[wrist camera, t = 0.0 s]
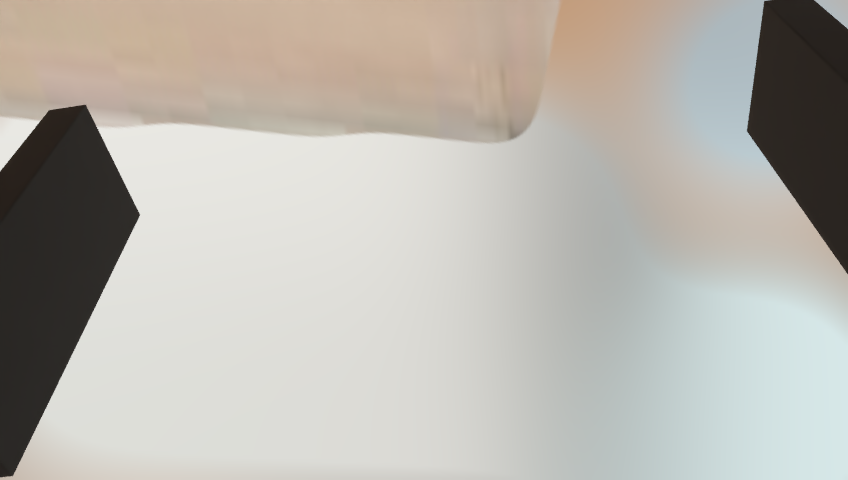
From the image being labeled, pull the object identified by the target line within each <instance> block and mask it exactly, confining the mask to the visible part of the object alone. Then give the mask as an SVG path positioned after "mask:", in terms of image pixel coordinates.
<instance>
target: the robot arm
mask: <svg viewBox="0 0 848 480" xmlns="http://www.w3.org/2000/svg"><path fill="white" fill-rule="evenodd" d="M747 132H748V133H749V135H750V136H751V137H752V139H753V140H754V142H755V143H756V144H757V146H758V147H759V149H760V150H761V152H762V153H763V154H764V156H765V157H766V158H767V160H768V162H769V163H770V164H771V166H772V167H773V169H774V170H775V171H776V173H777V174H778V176H779V177H780V179H781V180H782V181H783V183H784V184H785V186H786V187H787V188H788V190H789V191H790V193H791V194H792V196H793V197H794V198H795V199H796V201H797V203H798V204H799V206H800V207H801V208H802V210H803V211H804V212H805V214H806V215H807V217H808V218H809V220H810V221H811V222H812V224H813V225H814V227H815V228H816V230H817V231H818V232H819V234H820V235H821V237H822V238H823V240H824V241H825V242H826V244H827V245H828V247H829V248H830V250H831V251H832V252H833V254H834V255H835V257H836V258H837V259H838V261H839V262H840V264H841V265H842V266H843V268H844V269H845V271H846V272H847V274H848V29H847V28H846V27H845V26H844V25H842V24H841V23H840V22H839V21H838V20H837V19H835V18H834V17H833V16H832V15H831V14H830V13H828V12H827V11H826V10H825V9H824V8H823V7H821V6H820V5H819V4H818V3H817V2H815V1H814V0H770V1H764V8H763V16H762V23H761V30H760V38H759V45H758V53H757V60H756V68H755V75H754V84H753V90H752V98H751V105H750V113H749V121H748V128H747ZM139 216H140V214H139V212H138V210H137V208H136V206H135V204H134V202H133V200H132V198H131V196H130V194H129V192H128V190H127V188H126V186H125V184H124V182H123V180H122V178H121V176H120V173H119V172H118V169H117V167H116V165H115V164H114V161H113V159H112V157H111V155H110V153H109V151H108V150H107V147H106V145H105V143H104V141H103V139H102V137H101V135H100V133H99V131H98V129H97V127H96V125H95V123H94V121H93V119H92V117H91V115H90V113H89V111H88V109H87V107H86V105H81V106H74V107H68V108H61V109H55V110H49V111H48V112H47V114H46V115H45V116H44V117H43V119H42V120H41V121H40V122H39V124H38V125H37V126H36V128H35V129H34V130H33V131H32V133H31V134H30V135H29V136H28V138H27V139H26V140H25V141H24V143H23V144H22V145H21V146H20V148H19V149H18V150H17V151H16V153H15V154H14V155H13V156H12V158H11V159H10V160H9V161H8V163H7V164H6V165H5V166H4V168H3V169H2V170H1V171H0V477H6V476H13V474H14V472H15V470H16V468H17V466H18V464H19V462H20V460H21V458H22V456H23V454H24V452H25V450H26V448H27V445H28V444H29V442H30V440H31V437H32V435H33V433H34V431H35V429H36V427H37V425H38V423H39V421H40V419H41V417H42V415H43V413H44V411H45V409H46V407H47V405H48V403H49V401H50V398H51V396H52V394H53V392H54V390H55V388H56V386H57V384H58V382H59V380H60V378H61V376H62V374H63V372H64V370H65V368H66V365H67V364H68V362H69V359H70V357H71V355H72V353H73V351H74V349H75V347H76V345H77V343H78V341H79V339H80V337H81V335H82V333H83V331H84V329H85V327H86V325H87V322H88V320H89V318H90V316H91V314H92V312H93V310H94V308H95V306H96V304H97V302H98V300H99V298H100V296H101V294H102V292H103V289H104V288H105V285H106V283H107V282H108V279H109V277H110V275H111V273H112V271H113V269H114V267H115V265H116V263H117V261H118V259H119V257H120V255H121V253H122V251H123V249H124V246H125V244H126V243H127V240H128V238H129V236H130V234H131V232H132V230H133V228H134V226H135V224H136V222H137V220H138V218H139Z"/></svg>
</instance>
